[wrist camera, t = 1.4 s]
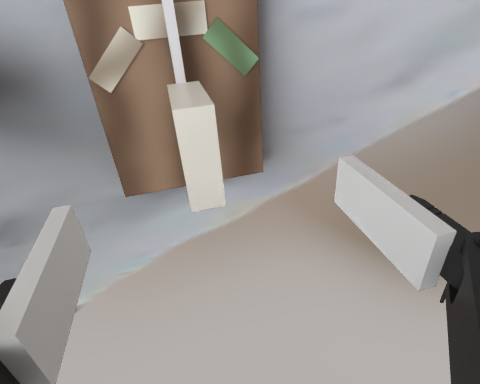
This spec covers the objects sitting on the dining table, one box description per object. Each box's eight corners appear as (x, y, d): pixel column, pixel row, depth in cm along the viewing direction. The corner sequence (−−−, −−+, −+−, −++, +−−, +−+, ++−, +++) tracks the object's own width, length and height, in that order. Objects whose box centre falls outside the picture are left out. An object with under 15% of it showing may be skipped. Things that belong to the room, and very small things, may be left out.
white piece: (178, 148, 30) (191, 212, 21) (150, 0, 24) (149, -7, 14) (202, 144, 31) (225, 205, 21) (181, -3, 24) (200, -11, 15)
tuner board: (127, 185, 34) (125, 197, 32) (10, -196, 19) (-9, -223, 17) (256, 162, 37) (263, 172, 34) (240, -190, 22) (250, -213, 20)
